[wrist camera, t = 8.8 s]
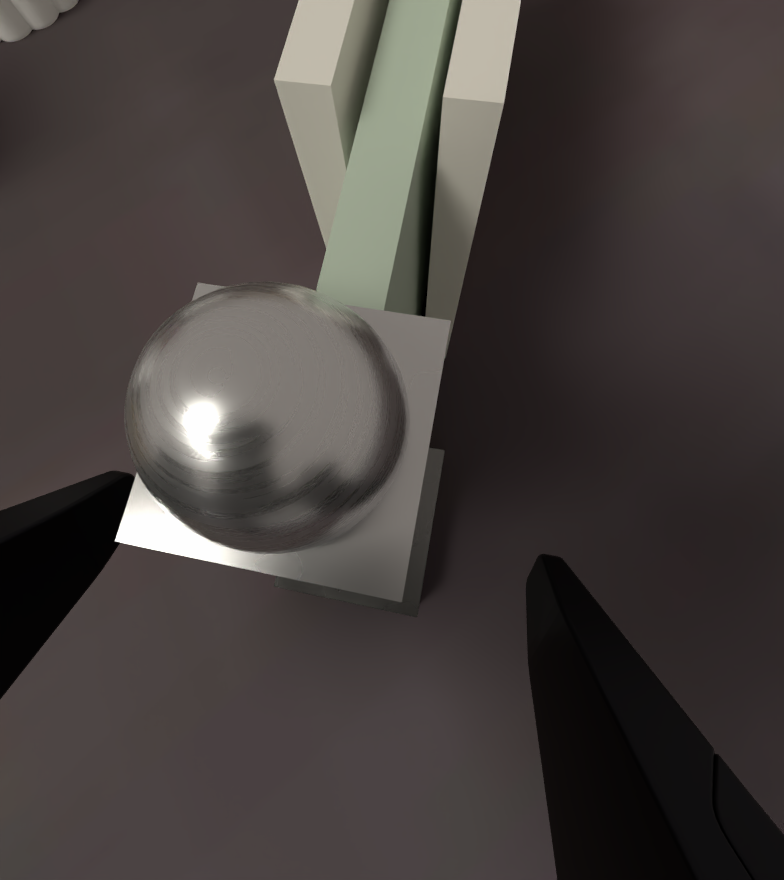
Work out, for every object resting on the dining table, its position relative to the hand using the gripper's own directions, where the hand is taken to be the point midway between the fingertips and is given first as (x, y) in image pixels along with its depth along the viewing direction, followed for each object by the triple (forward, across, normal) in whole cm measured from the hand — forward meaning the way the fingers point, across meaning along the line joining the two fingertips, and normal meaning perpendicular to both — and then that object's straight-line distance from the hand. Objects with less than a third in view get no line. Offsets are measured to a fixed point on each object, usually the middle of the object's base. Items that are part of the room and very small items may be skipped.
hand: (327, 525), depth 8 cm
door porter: (+5, 0, +5) cm, 7 cm away
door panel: (+11, 0, -2) cm, 11 cm away
